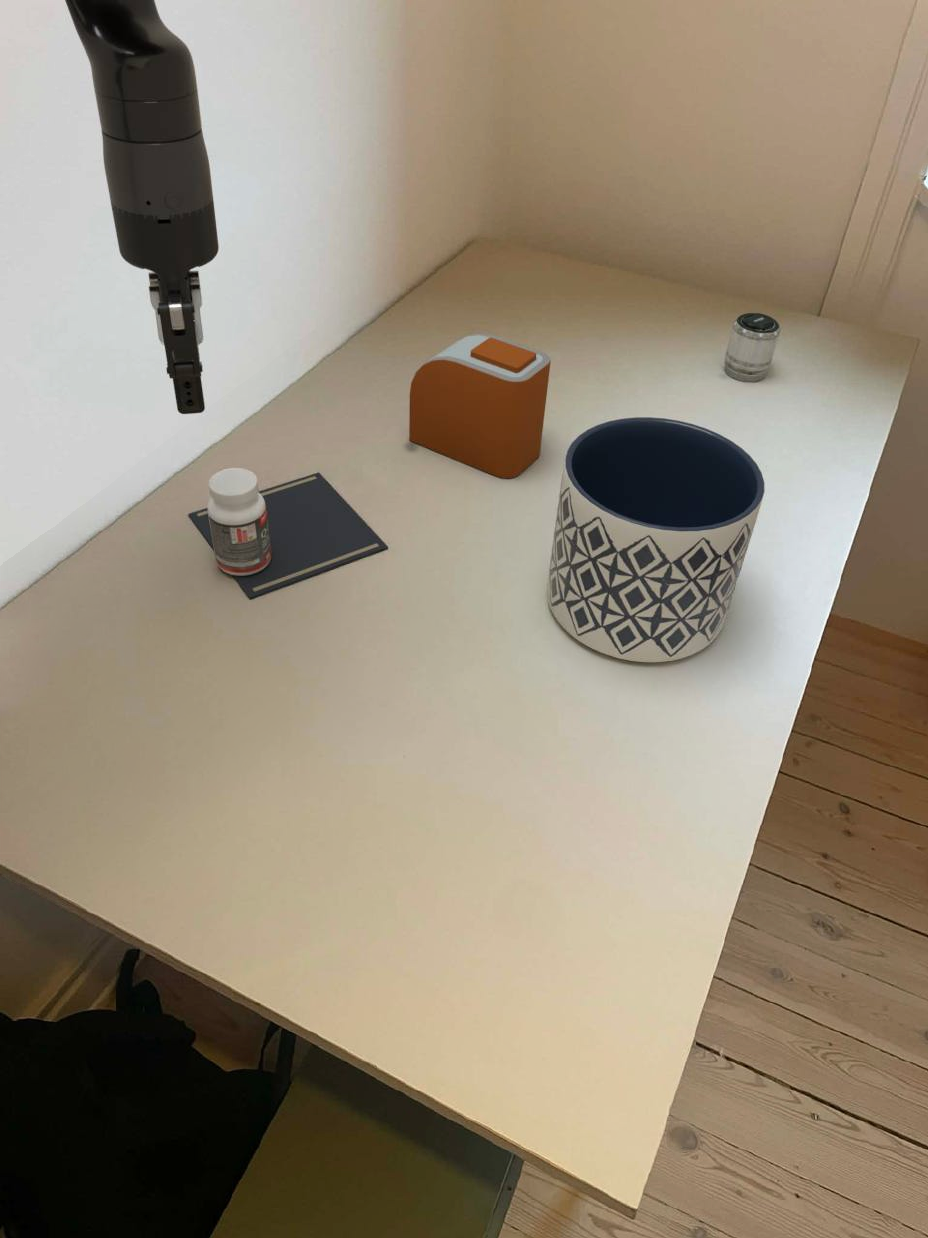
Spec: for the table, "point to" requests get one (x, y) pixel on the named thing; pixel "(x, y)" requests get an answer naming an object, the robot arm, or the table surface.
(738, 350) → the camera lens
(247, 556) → the pill bottle
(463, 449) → the alarm clock
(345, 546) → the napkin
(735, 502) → the planter
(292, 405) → the table surface
